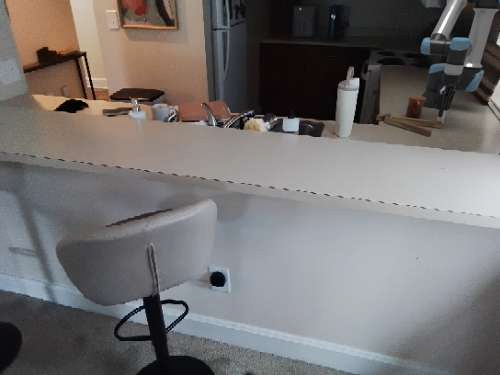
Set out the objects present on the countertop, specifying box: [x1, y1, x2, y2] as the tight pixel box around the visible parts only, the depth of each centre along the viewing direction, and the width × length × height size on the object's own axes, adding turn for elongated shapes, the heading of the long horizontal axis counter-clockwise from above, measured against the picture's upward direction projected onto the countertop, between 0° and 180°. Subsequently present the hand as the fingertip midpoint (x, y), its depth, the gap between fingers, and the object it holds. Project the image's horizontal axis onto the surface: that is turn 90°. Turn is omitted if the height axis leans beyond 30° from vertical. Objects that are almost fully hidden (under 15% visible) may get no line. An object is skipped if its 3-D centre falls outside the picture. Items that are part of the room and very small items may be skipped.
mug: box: [405, 94, 426, 119], centre depth 197 cm, size 12×9×10 cm
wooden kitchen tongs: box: [375, 113, 433, 137], centre depth 184 cm, size 5×29×3 cm, turn 36°
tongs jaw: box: [391, 115, 443, 129], centre depth 188 cm, size 3×23×3 cm, turn 68°
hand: (439, 123), depth 187 cm, fingers closed
